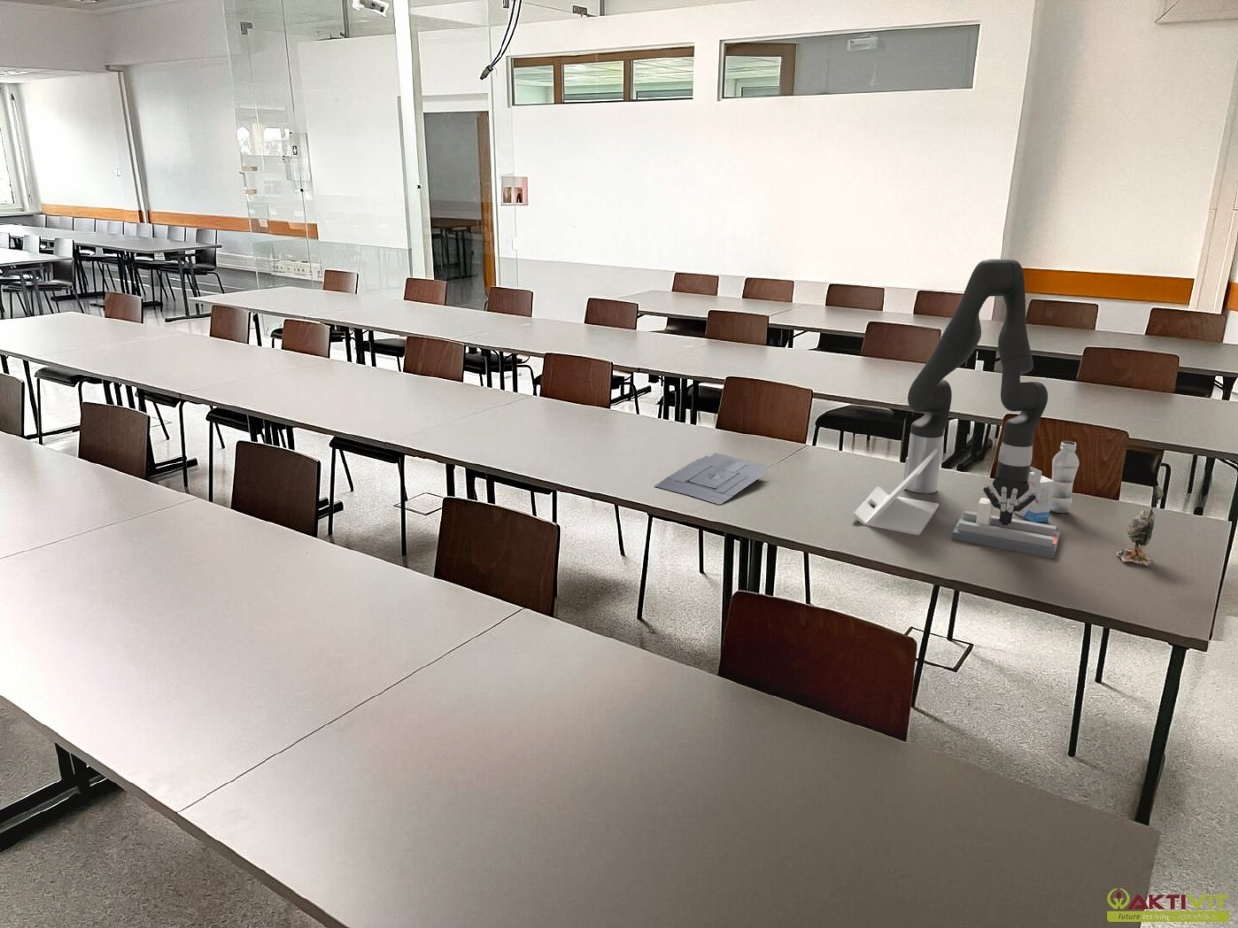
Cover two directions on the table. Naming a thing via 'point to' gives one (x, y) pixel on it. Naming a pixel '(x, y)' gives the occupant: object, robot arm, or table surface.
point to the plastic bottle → (1063, 477)
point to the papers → (714, 477)
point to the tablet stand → (897, 507)
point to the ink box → (1037, 497)
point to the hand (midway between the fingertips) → (1004, 524)
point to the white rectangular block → (984, 512)
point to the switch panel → (1005, 542)
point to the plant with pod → (1141, 533)
